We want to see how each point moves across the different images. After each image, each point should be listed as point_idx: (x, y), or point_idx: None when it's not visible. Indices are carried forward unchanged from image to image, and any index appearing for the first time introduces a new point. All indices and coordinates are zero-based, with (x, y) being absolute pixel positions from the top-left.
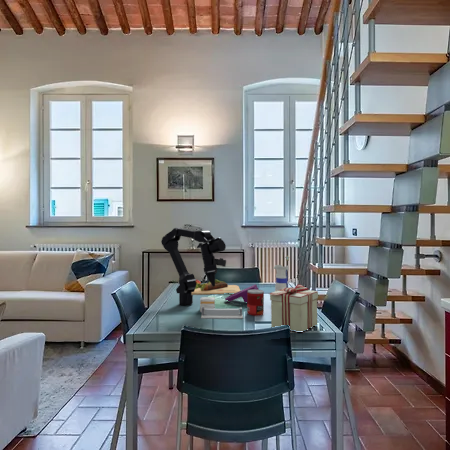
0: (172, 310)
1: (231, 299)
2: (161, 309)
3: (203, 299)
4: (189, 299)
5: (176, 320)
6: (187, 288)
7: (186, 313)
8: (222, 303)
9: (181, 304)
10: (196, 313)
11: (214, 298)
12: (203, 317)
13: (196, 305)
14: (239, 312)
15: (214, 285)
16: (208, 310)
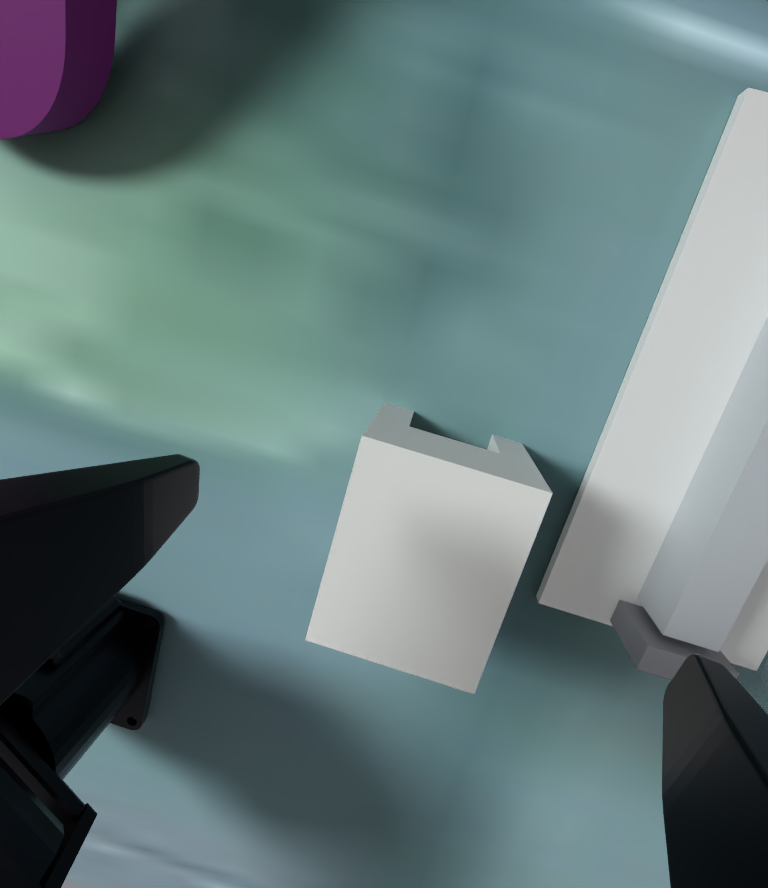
0: (327, 816)
1: (97, 48)
2: (266, 884)
3: (475, 649)
4: (94, 660)
5: None
6: (50, 852)
7: (486, 735)
8: (102, 212)
9: (141, 707)
10: (519, 648)
11: (455, 468)
12: (765, 645)
13: (161, 555)
14: (752, 131)
15: (720, 681)
16: (733, 603)
